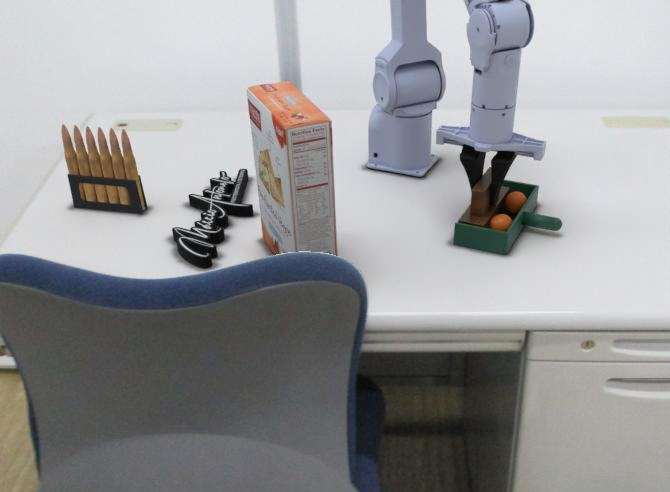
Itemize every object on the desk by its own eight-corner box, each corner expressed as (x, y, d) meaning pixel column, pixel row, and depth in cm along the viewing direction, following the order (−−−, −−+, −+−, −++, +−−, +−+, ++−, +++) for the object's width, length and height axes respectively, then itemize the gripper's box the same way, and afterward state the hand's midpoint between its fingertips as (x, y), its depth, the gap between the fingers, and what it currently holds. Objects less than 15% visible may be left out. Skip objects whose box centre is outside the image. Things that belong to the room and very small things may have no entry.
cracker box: (260, 241, 113) (243, 85, 100) (301, 233, 115) (291, 78, 101) (295, 291, 103) (282, 125, 90) (340, 281, 105) (334, 116, 92)
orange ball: (518, 222, 118) (498, 211, 118) (524, 212, 120) (504, 202, 121) (527, 203, 116) (507, 193, 116) (533, 194, 118) (513, 184, 118)
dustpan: (453, 244, 112) (454, 223, 110) (487, 196, 124) (489, 176, 122) (546, 262, 109) (549, 241, 107) (573, 211, 120) (576, 191, 118)
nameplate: (237, 257, 106) (159, 257, 106) (239, 268, 107) (161, 268, 107) (262, 168, 128) (197, 168, 128) (263, 178, 128) (198, 177, 129)
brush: (457, 235, 113) (459, 195, 109) (484, 197, 122) (488, 159, 118) (482, 240, 112) (485, 200, 108) (508, 201, 121) (512, 163, 117)
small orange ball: (495, 245, 113) (482, 226, 112) (502, 235, 115) (489, 217, 114) (514, 235, 111) (501, 215, 110) (520, 225, 113) (507, 206, 112)
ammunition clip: (148, 208, 120) (132, 127, 113) (142, 214, 119) (126, 132, 111) (79, 201, 122) (59, 121, 114) (73, 207, 121) (53, 126, 113)
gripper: (429, 104, 106) (425, 203, 115) (541, 121, 102) (528, 222, 110) (447, 87, 111) (442, 182, 120) (554, 102, 107) (541, 200, 115)
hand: (484, 200), depth 115 cm, fingers closed on brush, 2 cm apart
